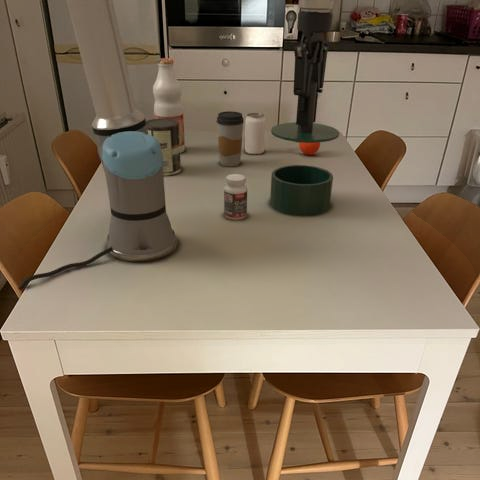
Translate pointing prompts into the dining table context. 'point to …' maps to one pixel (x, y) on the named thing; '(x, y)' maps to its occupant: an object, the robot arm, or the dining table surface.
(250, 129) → the can
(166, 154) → the coffee can
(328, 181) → the pot
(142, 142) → the robot arm
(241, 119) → the coffee cup
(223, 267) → the dining table surface
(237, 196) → the pill bottle
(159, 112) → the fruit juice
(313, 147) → the clementine
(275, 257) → the dining table surface
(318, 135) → the pot lid
